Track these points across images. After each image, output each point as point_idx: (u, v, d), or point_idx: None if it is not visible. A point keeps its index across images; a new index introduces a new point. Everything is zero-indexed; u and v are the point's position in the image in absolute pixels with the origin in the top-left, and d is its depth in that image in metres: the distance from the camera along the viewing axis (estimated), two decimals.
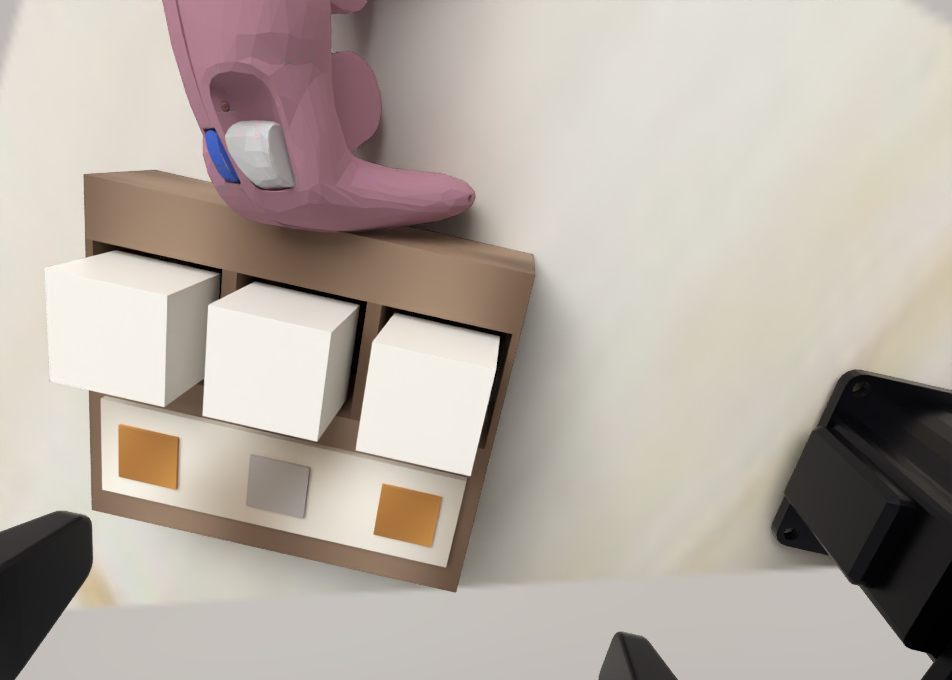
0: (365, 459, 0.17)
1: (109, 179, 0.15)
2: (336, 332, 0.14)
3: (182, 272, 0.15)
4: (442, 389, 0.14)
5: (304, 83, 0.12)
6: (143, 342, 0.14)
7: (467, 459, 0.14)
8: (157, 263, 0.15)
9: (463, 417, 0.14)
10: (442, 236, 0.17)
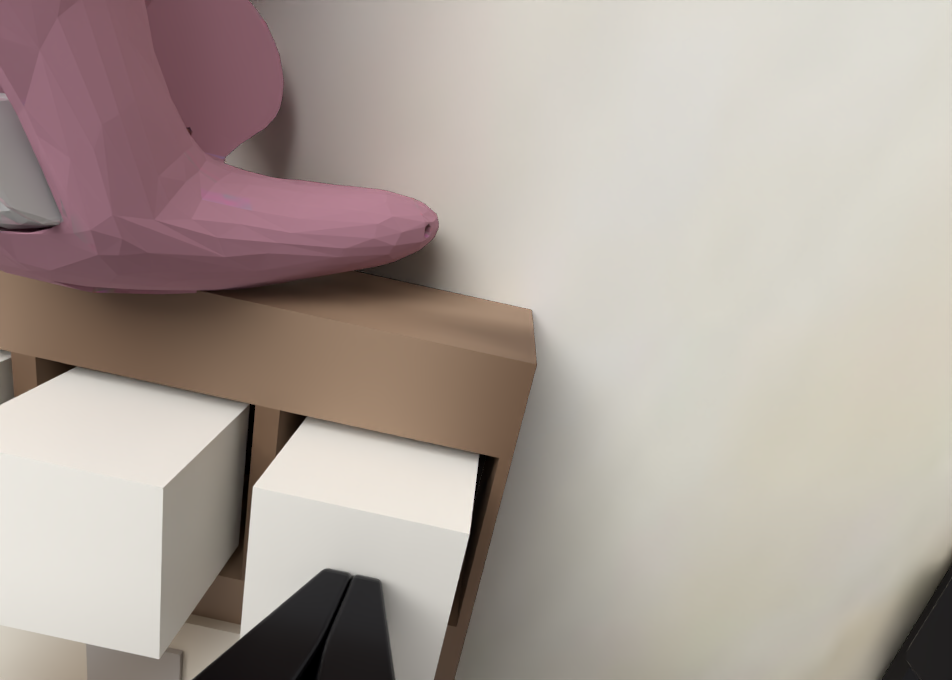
0: None
1: None
2: (182, 477, 0.08)
3: None
4: (378, 562, 0.08)
5: (47, 9, 0.05)
6: None
7: (424, 668, 0.08)
8: None
9: (416, 606, 0.08)
10: (390, 284, 0.11)
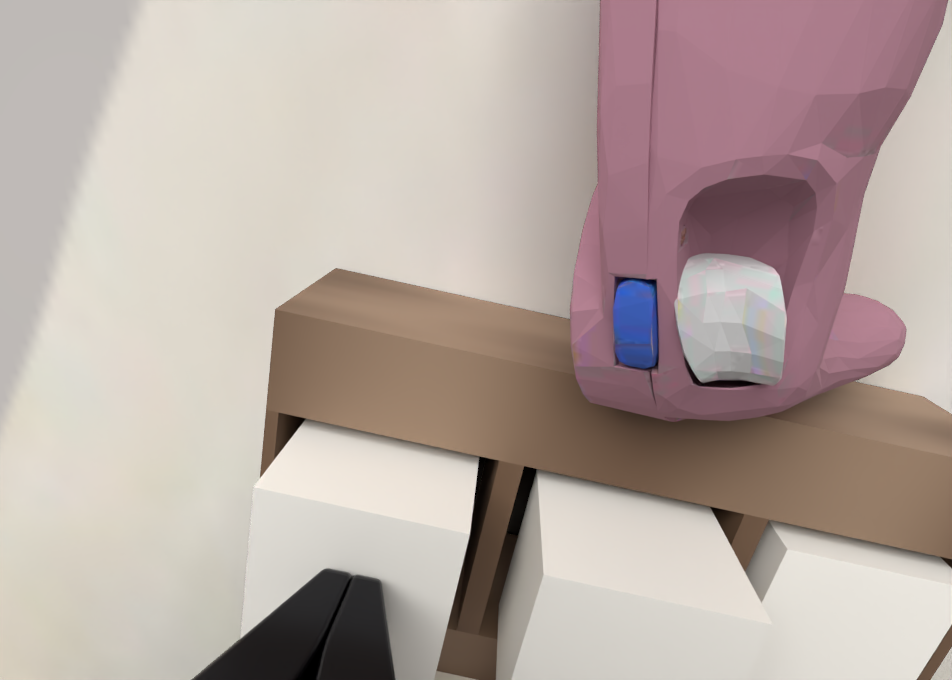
0: None
1: (318, 317, 0.09)
2: None
3: (436, 452, 0.09)
4: (879, 612, 0.09)
5: (863, 189, 0.05)
6: (413, 600, 0.08)
7: None
8: None
9: (902, 649, 0.09)
10: None
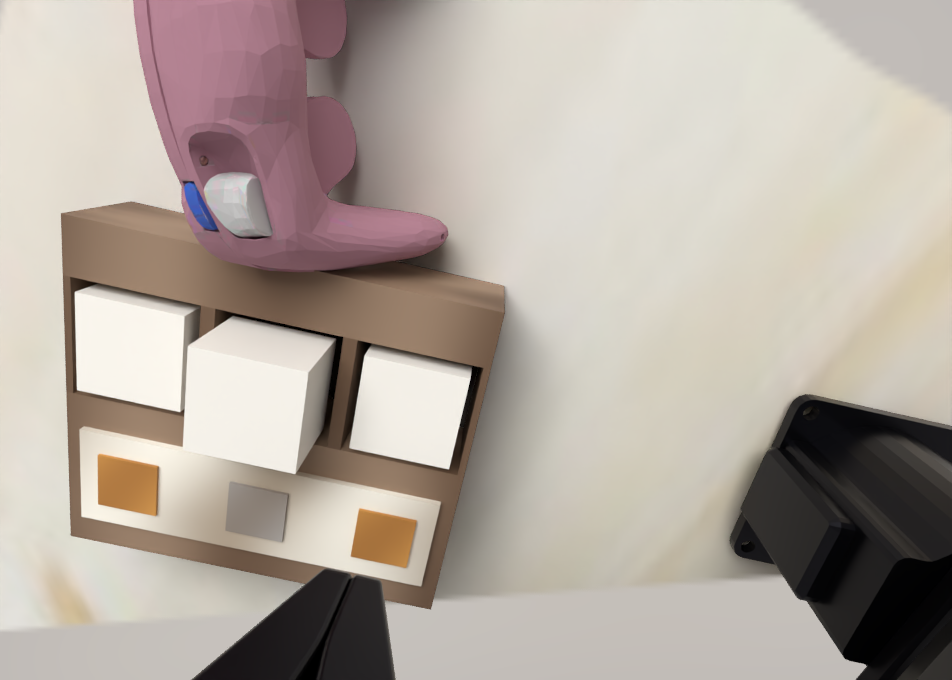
0: (342, 486, 0.17)
1: (87, 218, 0.15)
2: (313, 370, 0.14)
3: None
4: (424, 395, 0.16)
5: (281, 140, 0.12)
6: (162, 355, 0.16)
7: (446, 455, 0.17)
8: None
9: (443, 418, 0.16)
10: (416, 269, 0.18)
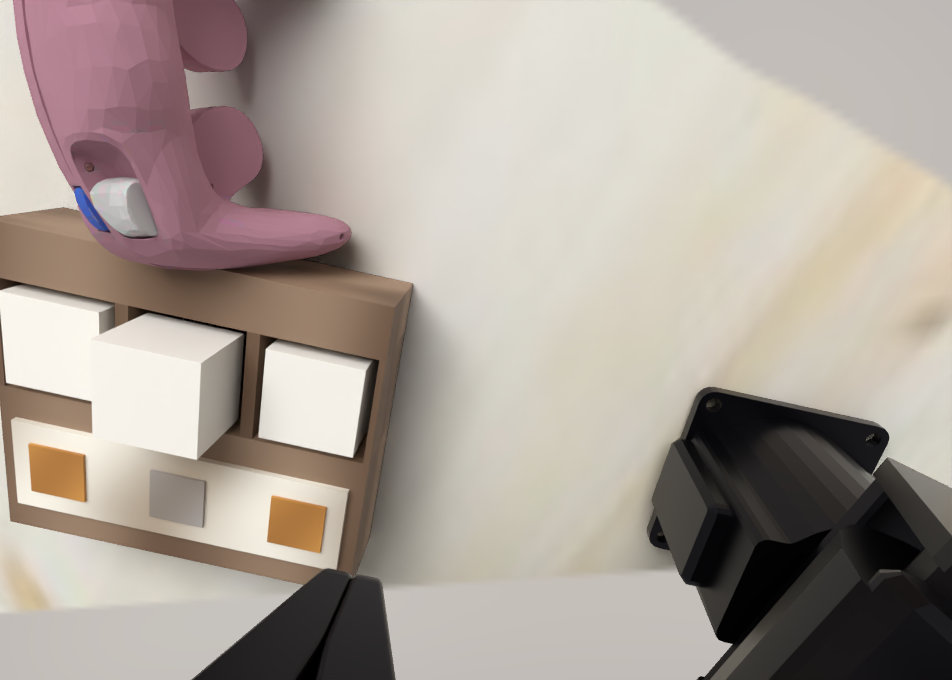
0: (254, 473, 0.18)
1: (8, 222, 0.16)
2: (209, 362, 0.15)
3: None
4: (324, 386, 0.17)
5: (157, 147, 0.13)
6: (81, 349, 0.17)
7: (349, 443, 0.17)
8: None
9: (343, 409, 0.17)
10: (327, 268, 0.19)
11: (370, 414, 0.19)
